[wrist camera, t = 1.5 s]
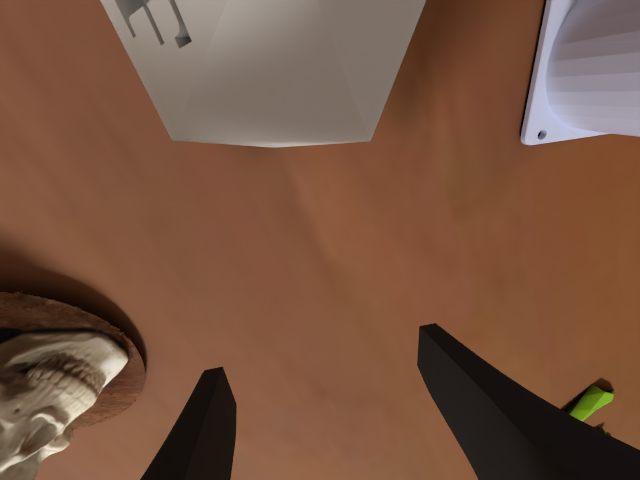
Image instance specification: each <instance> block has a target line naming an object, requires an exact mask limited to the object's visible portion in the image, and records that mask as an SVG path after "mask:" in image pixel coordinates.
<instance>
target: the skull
mask: <svg viewBox="0 0 640 480" xmlns="http://www.w3.org/2000/svg"><path fill="white" fill-rule="evenodd" d="M20 292H23V291H20ZM20 292H14V293H7V292H0V480H34V479H35V477H36V475H37V472H38V469H39V467H40V465H41V464H42V462H43V460H44V459H45V458H46V457H48V456H49V455H51V454H53V453H56V452H59V451H61V450H63V449H65V448H66V447H67V446H68V445H69V444H70V442H71V440H72V439H73V430H74V429H77V428H80V427H86V426H91V425H94V424H96V423H101V422H103V421H106V420H108V419H110V418H112V417H115V416H116V415H118V414H119V413H121V412H122V411H124V410H126V409H127V408H128V407H129V406H130V405H131V404H132V403H133V402H134V401H136V399H137V398H138V396H139V395H140V393H141V391H142V389H143V386H144V382H145V368H144V363H143V361H142V358H141V356H140V354H139V352H138V350H137V349H136V347H135V345H134V344H133V343H132V341H131V340H130V338H127V337H126V336H125V334H124V333H123V332H121V331H120V330H119V329H118V328H116V327H115V326H111V324H109V323H108V322H107V321H105V320H102V319H101V318H99V317H97V316H95V315H94V314H90V313H87V312H85V311H83V310H81V308H78V307H77V306H76V307H74V306H70V305H69V304H68V305H67V303H64V302H63V303H61V302H60V301H59V302H57V300H49V299H46V298H45V297H44V296H43V297H44V298H41V297H40V296H39V297H36V296H34V295H30V293H28V295H25V294H22V293H20ZM70 310H71V311H70ZM76 311H77V312H76Z"/></svg>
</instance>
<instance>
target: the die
mask: <svg viewBox="0 0 640 480" xmlns="http://www.w3.org/2000/svg"><path fill="white" fill-rule="evenodd" d="M101 2H102V4H103V6H104V8H105V10H106V12H107V14H108V16H109V18H110V20H111V22H112V24H113V26H114V28H115V30H116V32H117V34H118V36H119V38H120V40H121V42H122V44H123V45H124V47H125V49H126V51H127V53H128V55H129V57H130V59H131V61H132V63H133V65H134V67H135V69H136V71H137V73H138V75H139V77H140V79H141V81H142V83H143V85H144V87H145V89H146V90H147V92H148V94H149V96H150V98H151V100H152V102H153V104H154V106H155V108H156V110H157V112H158V114H159V116H160V118H161V120H162V122H163V124H164V126H165V128H166V130H167V132H168V133H169V135H170V137H171V139H172V140H175V141H189V142H203V143H217V144H231V145H245V146H259V147H290V146H305V145H321V144H337V143H352V142H368V141H371V139H372V136H373V134H374V131H375V129H376V126H377V124H378V121H379V119H380V116H381V114H382V111H383V108H384V106H385V103H386V101H387V98H388V96H389V93H390V91H391V88H392V86H393V83H394V81H395V78H396V76H397V73H398V70H399V68H400V65H401V63H402V60H403V58H404V55H405V53H406V50H407V48H408V45H409V43H410V40H411V38H412V35H413V33H414V30H415V27H416V25H417V22H418V20H419V17H420V15H421V12H422V10H423V7H424V5H425V2H426V0H101Z"/></svg>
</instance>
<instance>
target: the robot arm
mask: <svg viewBox="0 0 640 480" xmlns="http://www.w3.org/2000/svg"><path fill="white" fill-rule="evenodd" d="M540 131H541V134H540V136H539V137H538V134H539V132H540ZM610 133H612V134H621V135H630V136H639V137H640V0H547V1H546V6H545V12H544V17H543V22H542V27H541V33H540V38H539V43H538V48H537V54H536V59H535V64H534V69H533V75H532V80H531V85H530V90H529V96H528V101H527V106H526V111H525V117H524V122H523V127H522V132H521V142H522V143H523V144H526V145H535V144H542V143H549V142H556V141H563V140H569V139H576V138H583V137H590V136H597V135H603V134H610ZM417 366H418V368H419V370H420V373H421V375H422V377H423V380H424V382H425V384H426V386H427V388H428V391H429V393H430V394H431V396H432V398H433V400H434V402H435V403H436V405H437V407H438V408H439V410H440V412H441V414H442V415H443V417H444V419H445V420H446V422H447V424H448V426H449V427H450V429H451V431H452V432H453V434H454V436H455V438H456V439H457V441H458V443H459V444H460V446H461V448H462V450H463V451H464V453H465V455H466V456H467V458H468V460H469V462H470V464H471V466H472V468H473V469H474V471H475V473H476V475H477V477H478V480H640V450H638V449H636V448H634V447H632V446H630V445H628V444H626V443H624V442H622V441H620V440H618V439H615V438H613V437H611V436H609V435H607V434H606V433H604V432H602V431H600V430H598V429H596V428H594V427H592V426H590V425H588V424H586V423H584V422H582V421H580V420H579V419H577V418H575V417H573V416H571V415H569V414H568V413H566V412H564V411H562V410H561V409H559V408H557V407H555V406H554V405H552V404H550V403H549V402H547V401H545V400H544V399H542V398H540V397H538V396H537V395H535V394H534V393H532V392H530V391H529V390H527V389H525V388H524V387H522V386H521V385H519V384H518V383H516V382H515V381H513V380H512V379H510V378H509V377H507V376H506V375H504V374H503V373H501V372H500V371H499V370H497V369H496V368H494V367H493V366H491V365H490V364H489V363H487V362H486V361H485V360H483V359H482V358H480V357H479V356H478V355H476V354H475V353H474V352H472V351H471V350H470V349H468V348H467V347H466V346H464V345H463V344H462V343H460V342H459V341H458V340H456V339H455V338H454V337H453V336H451V335H450V334H449V333H447V332H446V331H445V330H443V329H442V328H441V327H440V326H438V325H437V324H436V323H434V324H429V325H424V326H420V328H419V345H418V361H417ZM235 438H236V402H235V399H234V396H233V394H232V391H231V388H230V385H229V383H228V380H227V377H226V374H225V372H224V369H223V367H219V368H214V369H209V370H205V371H204V372H203V373H202V375H201V377H200V379H199V381H198V383H197V385H196V387H195V389H194V391H193V392H192V394H191V396H190V398H189V400H188V402H187V403H186V405H185V407H184V409H183V411H182V413H181V414H180V416H179V418H178V419H177V421H176V423H175V425H174V426H173V428H172V430H171V432H170V433H169V435H168V437H167V438H166V440H165V442H164V443H163V445H162V447H161V448H160V450H159V451H158V453H157V454H156V456H155V458H154V459H153V461H152V462H151V464H150V465H149V467H148V469H147V470H146V472H145V473H144V475H143V476H142V478H141V479H140V480H230V478H231V470H232V463H233V455H234V447H235Z"/></svg>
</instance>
